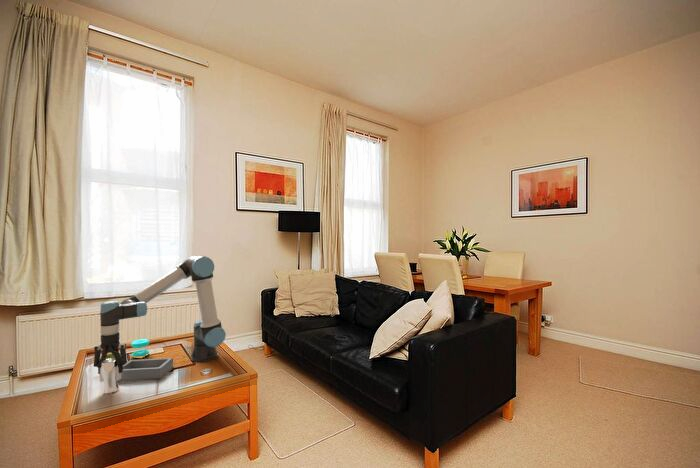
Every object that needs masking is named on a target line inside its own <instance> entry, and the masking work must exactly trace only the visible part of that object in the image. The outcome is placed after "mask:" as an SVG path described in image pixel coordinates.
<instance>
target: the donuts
mask: <svg viewBox="0 0 700 468" xmlns="http://www.w3.org/2000/svg"><path fill="white" fill-rule="evenodd" d="M150 341H151V340H149V339H147V338H140V339H136V340H134V341H132V342H131V344H130V347H132V348H133V349H138V350H135V351H134V352H132V353H131V355H130V357H131V356H134V357H135V356H144V355H146V354H148V353H149V352H150V351H149V350H148V349H141V348H145V347H147V346H148V345H149V344H150Z"/></svg>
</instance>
